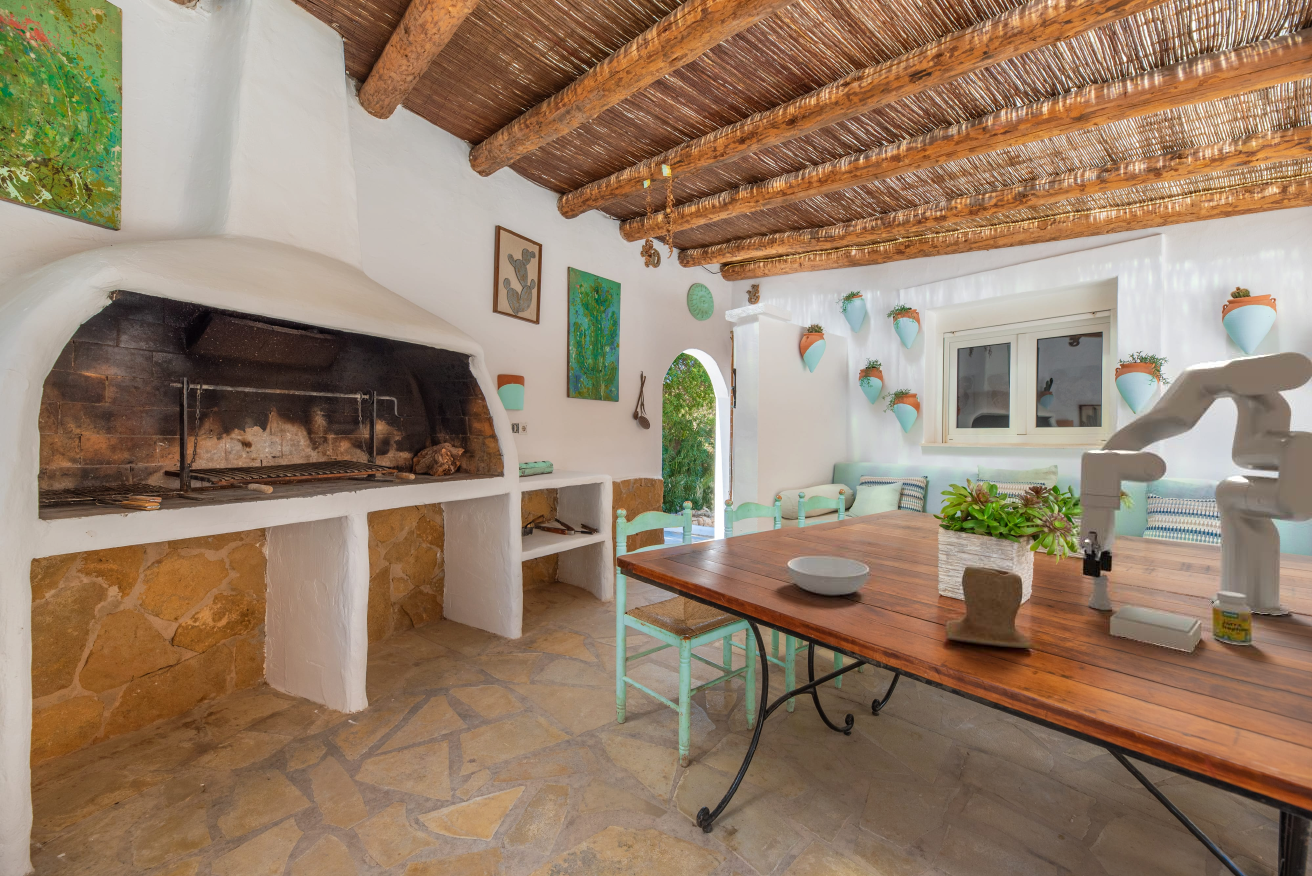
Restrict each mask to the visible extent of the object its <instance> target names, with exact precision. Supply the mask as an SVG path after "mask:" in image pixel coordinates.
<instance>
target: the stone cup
mask: <svg viewBox="0 0 1312 876" xmlns="http://www.w3.org/2000/svg"><path fill="white" fill-rule="evenodd" d="M961 585H962V591H963V598H964V602H965V603H964V604H965V611H966V614H965V616H964V617H963V618H962V619H959V620H948V621H946V623H945V635H946V639H947V640H950V641H957V642H962V643H969V644H976V645H977V644H978V645H982V646H983V645H984V646H992V647H993V646H994V647H1005V648H1006V647H1007V648H1018V649H1022V648H1023V649H1026V648H1027V649H1028V648H1031V645H1032V642H1031V640H1030V638H1028V636H1026V635H1025V634H1023V633H1022V632H1020V631H1018V630H1017V629H1016V617H1017V614H1018V612H1019V609H1020V606H1021V603H1022V601H1023V591H1024V590H1023V580H1022V577H1021V576H1020V575H1019V574H1018V573H1015V572H1013V571H1009V570H1005V569H999V568H990V567H984V566H983V567H982V566H974V565H973V566H972V565H967V566H966V567H965V568H964V571H963V573H962V578H961Z"/></svg>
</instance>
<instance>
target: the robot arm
mask: <svg viewBox="0 0 1312 876" xmlns="http://www.w3.org/2000/svg"><path fill="white" fill-rule="evenodd" d="M1311 379H1312V361H1311V360H1310V358H1308V356H1306V355H1304V354H1302V353H1299V352H1294V351H1286V352H1277V353H1269V354H1268V353H1267V354H1262V355H1254V356H1246V357H1245V356H1243V357H1238V358H1233V359H1230V360H1229V359H1228V360H1222V361H1214V362H1206V363H1198V364H1194V365H1191V366H1189V367H1187V368H1185V369H1183V371H1182V372H1181V373H1180V374H1179V375H1178V376H1177V377H1176V379H1175V380H1174V381H1173V382H1172V384H1171V385H1170V386H1169V387H1168V389H1167V390H1166V391H1165V392H1164V394H1162V396H1161V397H1160V398H1159V399H1158V401H1157V402H1156V404H1155V405H1154V406H1153V408H1151V409H1150V410H1149V411H1148V412H1147V413H1144V414H1142V415H1141V416H1139V417H1138V418H1135V420H1132V421H1131V422H1129V424H1127V425H1124V426H1123V427H1122V428H1120V429H1119V430H1118V431H1117V432H1115V433H1114V434H1112V436H1110V437H1109V439H1108V440H1107V441H1106V443H1104V445H1103V446H1102V447H1101V448H1100V450H1086V451H1084V452H1083V453H1082V455H1081V462H1080V489H1079V491H1080V492H1079V507H1080V508H1082V512H1081V516H1080V527H1079V539H1078V547H1079V548H1080V549H1082V550H1083V559H1082V575H1084V576H1086V577H1097V578H1099V577H1100V576H1102V573H1101V572H1102V571H1103V572H1110V573H1111V572H1112V571H1113V570H1112V569H1113V565H1112V564H1113V550H1112V549H1113V548H1114V547H1115V546H1114V545H1115V539H1116V538H1115V534H1116V533H1115V532H1116V513H1115V511H1121V504H1122V503H1121V502H1122V501H1121V500H1122V497H1121V496H1122V482H1129V483H1137V484H1151V483H1154V482H1156V481H1159V480H1160V479H1162V478H1163V477H1164V475H1165V474H1166V471H1167V463H1166V462H1165V460H1164V459H1163V458H1162V457H1161V456H1159V454H1156V453H1153V452H1150V451H1142V450H1144V449H1145V448H1147V447H1148V446H1150V445H1153V444H1154V443H1155V444H1156V443H1157V442H1160V441H1162V440H1166V439H1171V438H1173V437H1177V436H1179V435H1182V434H1185V433H1187V432H1189V431H1191V430H1192V429H1193V428H1194V427H1195V426H1196V425H1197V424H1198V422H1199V421H1200V419H1201V418H1202V417H1203V416H1204V415H1205V414H1206V412H1208V410H1209V409H1210V407H1211V406H1212V405H1213V404H1214V403H1215V401H1216V400H1218V399H1225V398H1230V399H1231V400H1232V401H1233V402H1234V404H1235V407H1236V409H1237V419H1236V425H1235V431H1234V437H1233V443H1232V448H1231V458H1232V459H1231V460H1232V462H1233V463H1234V464H1235V465H1236V466H1238V468H1242V469H1244V470H1251V471H1258V472H1261V471H1262V472H1273V473H1274V472H1275V473H1278V475H1277V477H1272V476H1260V475H1241V474H1240V475H1233V476H1229V477H1225V479H1222V480H1221V481H1220V482H1219V483H1218V484H1217V485H1216V488H1215V491H1214V496H1215V497H1214V498H1215V499H1214V500H1215V502H1216V503H1215V504H1216V506H1217V510H1218V514H1219V521H1220V522H1219V523H1220V576H1219V577H1220V578H1219V579H1220V580H1219V581H1220V583H1219V585H1220V586H1219V587H1220V589H1219V591H1227V592H1235V593H1239V594H1243V595H1245V596H1246V603H1245V604H1244V605H1246V606H1248V607H1249V608H1250V609H1251V611H1254V612H1260V613H1268V614H1285V613H1288V612H1289V611H1290V608H1289V607H1287V606H1286V605H1283V604H1281V603H1280V586H1281V585H1280V578H1281V577H1280V573H1281V572H1280V570H1281V569H1280V568H1281V566H1280V565H1281V536H1280V532H1279V529H1278V527H1277V525H1276V524H1275V523H1274V521H1273V520H1279V521H1285V522H1286V521H1287V522H1298V523H1299V522H1301V523H1302V522H1307V521H1309V520H1312V432H1310V431H1304V430H1303V431H1302V430H1291V421H1292V410H1291V409H1292V408H1291V406H1290V404H1289V402H1288V401H1287V399H1286V398H1285V397H1284V396H1283V395H1282V394H1281V393H1280V392H1285V391H1291V390H1295V389H1298V388H1301V387H1303V386H1305V385H1306V384H1307V383H1308V382H1309V381H1310V380H1311ZM1211 600H1212V601H1213V602H1216V601H1219V599H1218V598H1217V594H1213V595H1212V596H1211V597H1210V601H1211ZM1212 601H1211V602H1212ZM1213 602H1212V603H1213Z"/></svg>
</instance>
